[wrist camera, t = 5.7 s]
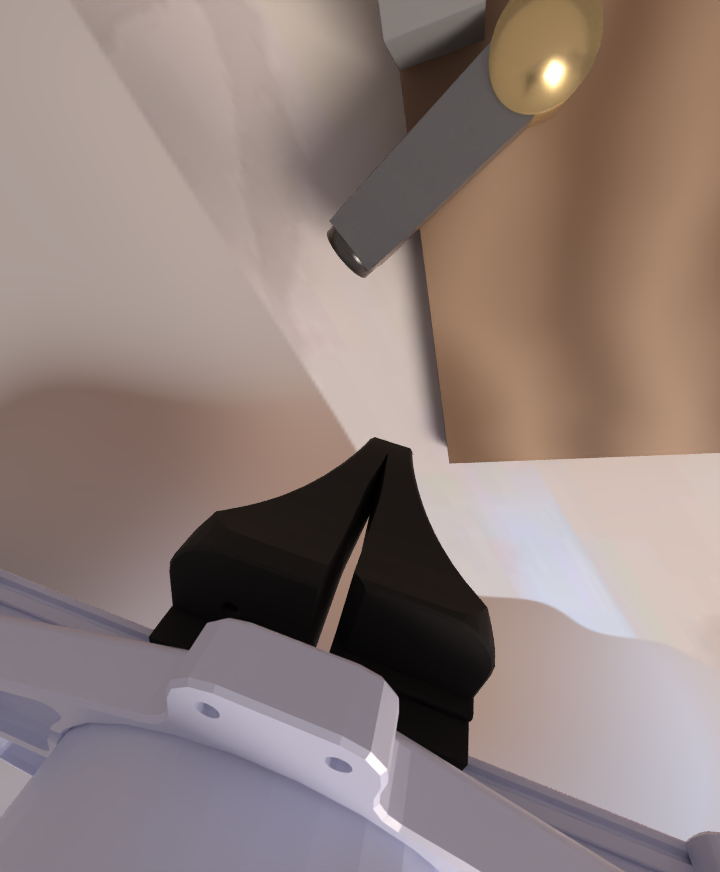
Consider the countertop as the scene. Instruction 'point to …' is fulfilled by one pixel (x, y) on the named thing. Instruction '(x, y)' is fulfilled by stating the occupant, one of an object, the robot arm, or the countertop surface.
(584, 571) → the countertop surface
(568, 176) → the wooden board
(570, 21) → the gold-capped grey rod
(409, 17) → the block
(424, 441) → the countertop surface
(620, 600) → the countertop surface
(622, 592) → the countertop surface
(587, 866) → the robot arm
